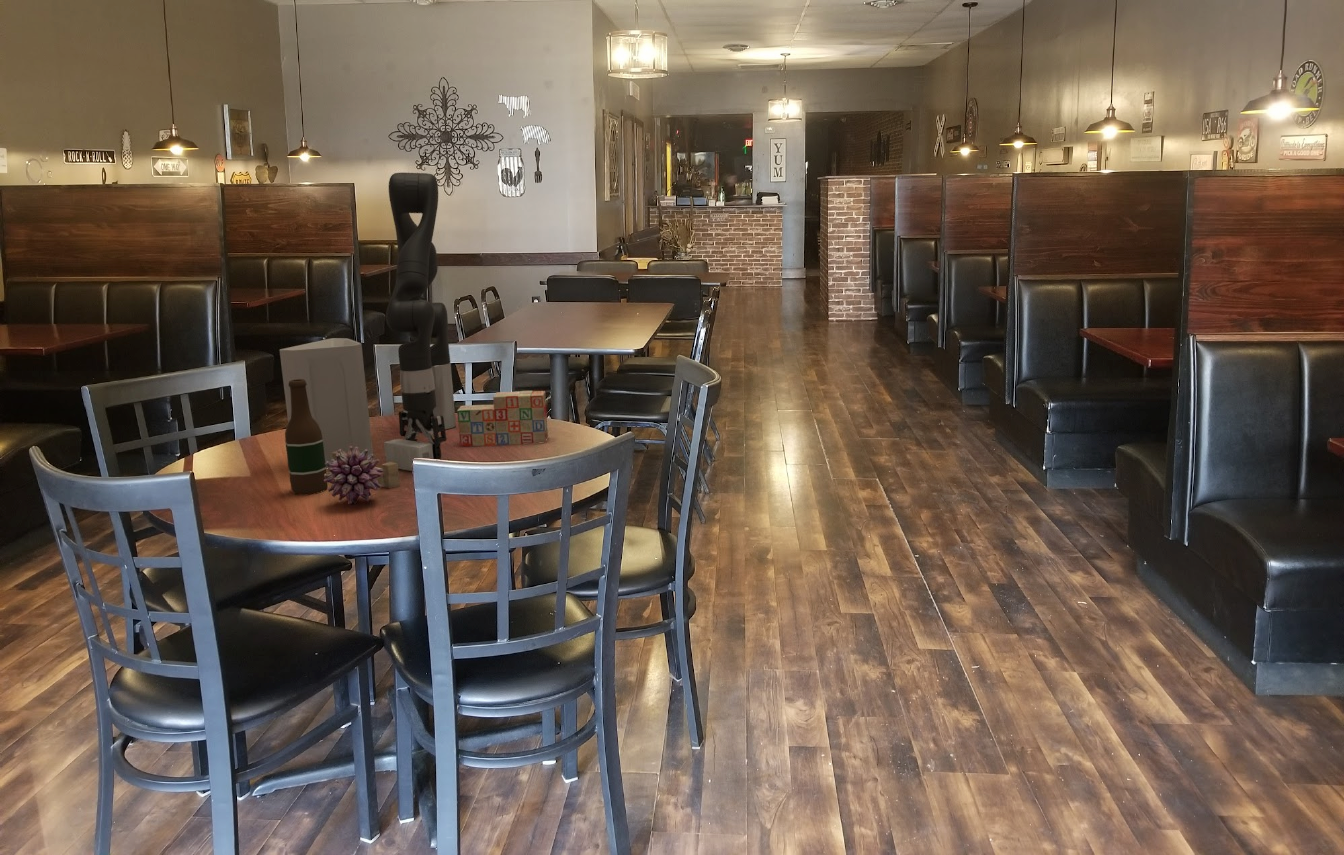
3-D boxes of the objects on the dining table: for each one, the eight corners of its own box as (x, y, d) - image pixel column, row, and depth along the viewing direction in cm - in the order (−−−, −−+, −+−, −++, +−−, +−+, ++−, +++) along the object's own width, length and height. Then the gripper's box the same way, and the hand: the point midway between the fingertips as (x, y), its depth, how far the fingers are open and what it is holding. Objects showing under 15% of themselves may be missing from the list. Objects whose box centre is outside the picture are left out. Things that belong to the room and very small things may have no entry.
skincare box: (433, 443, 248) (397, 437, 255) (418, 447, 245) (383, 441, 252) (435, 469, 250) (400, 462, 256) (421, 473, 246) (385, 467, 253)
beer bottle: (295, 486, 239) (283, 378, 234) (332, 484, 240) (320, 376, 235) (286, 496, 232) (273, 384, 226) (324, 494, 232) (311, 382, 227)
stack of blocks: (459, 447, 271) (455, 398, 268) (463, 441, 277) (459, 393, 274) (546, 443, 271) (542, 394, 268) (548, 437, 277) (545, 389, 274)
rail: (334, 474, 249) (332, 452, 248) (343, 471, 250) (341, 450, 249) (390, 488, 234) (388, 465, 233) (399, 485, 236) (397, 463, 235)
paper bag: (344, 473, 249) (331, 351, 243) (292, 469, 255) (277, 350, 249) (394, 453, 267) (383, 338, 261) (344, 450, 272) (332, 338, 266)
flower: (347, 515, 216) (341, 456, 213) (315, 505, 224) (308, 448, 221) (397, 501, 224) (391, 444, 222) (364, 492, 232) (358, 437, 229)
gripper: (385, 388, 251) (393, 457, 255) (423, 394, 242) (430, 465, 246) (412, 383, 257) (419, 450, 260) (450, 388, 248) (457, 458, 251)
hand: (425, 457), depth 253 cm, fingers open, 8 cm apart
